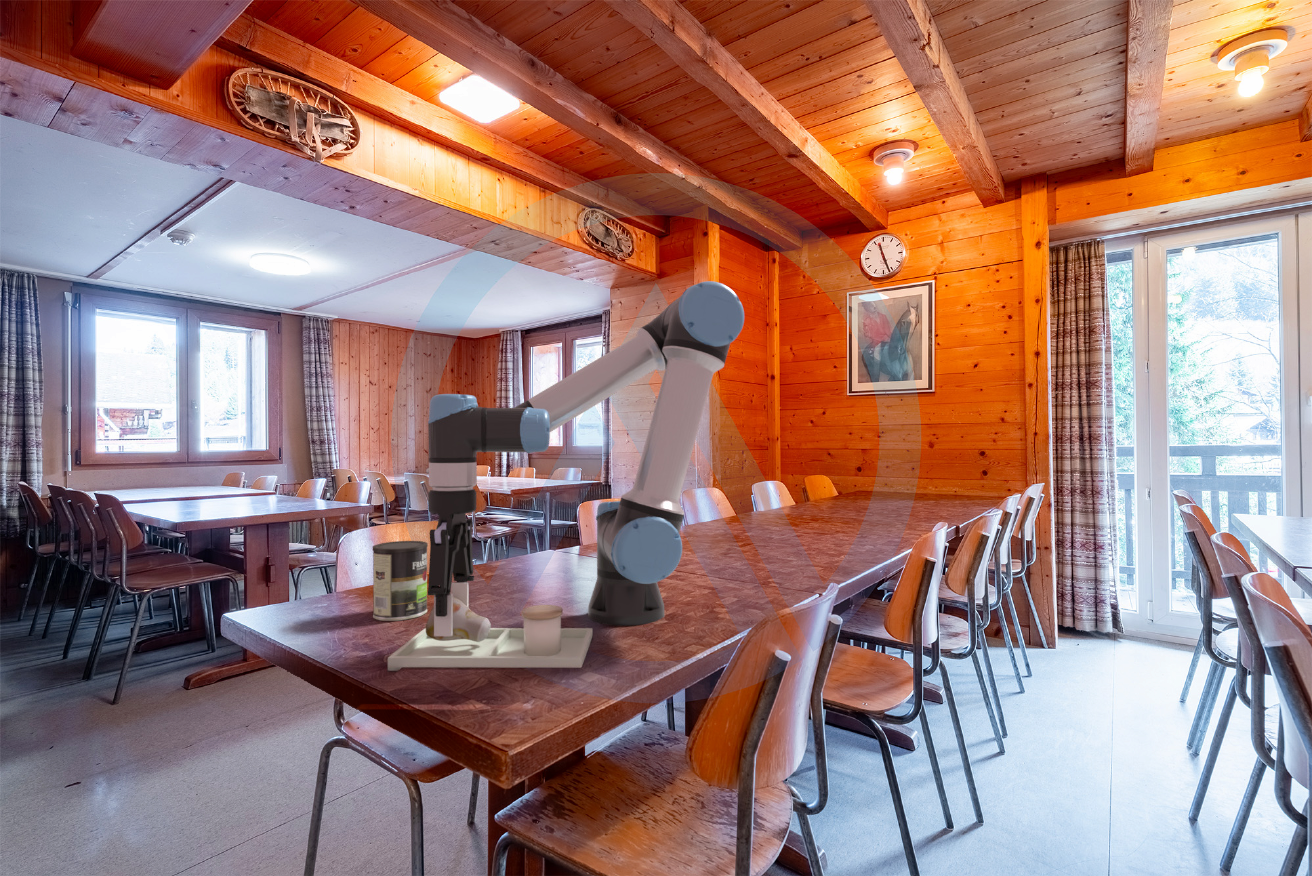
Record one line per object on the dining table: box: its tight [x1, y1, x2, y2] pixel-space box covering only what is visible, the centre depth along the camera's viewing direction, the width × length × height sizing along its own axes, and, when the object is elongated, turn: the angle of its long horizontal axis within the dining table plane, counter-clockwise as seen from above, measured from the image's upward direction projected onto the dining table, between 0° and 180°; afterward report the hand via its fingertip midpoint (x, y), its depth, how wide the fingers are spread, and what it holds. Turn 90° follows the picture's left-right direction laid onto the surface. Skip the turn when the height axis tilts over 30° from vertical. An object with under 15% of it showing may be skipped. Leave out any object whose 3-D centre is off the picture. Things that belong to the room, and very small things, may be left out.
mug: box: [425, 597, 492, 642], centre depth 99 cm, size 8×10×10 cm
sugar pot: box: [521, 604, 564, 656], centre depth 99 cm, size 7×7×7 cm
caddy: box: [387, 627, 593, 672], centre depth 99 cm, size 30×15×2 cm, turn 89°
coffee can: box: [372, 540, 429, 622], centre depth 122 cm, size 10×10×14 cm
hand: (451, 627), depth 99 cm, fingers closed on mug, 7 cm apart
